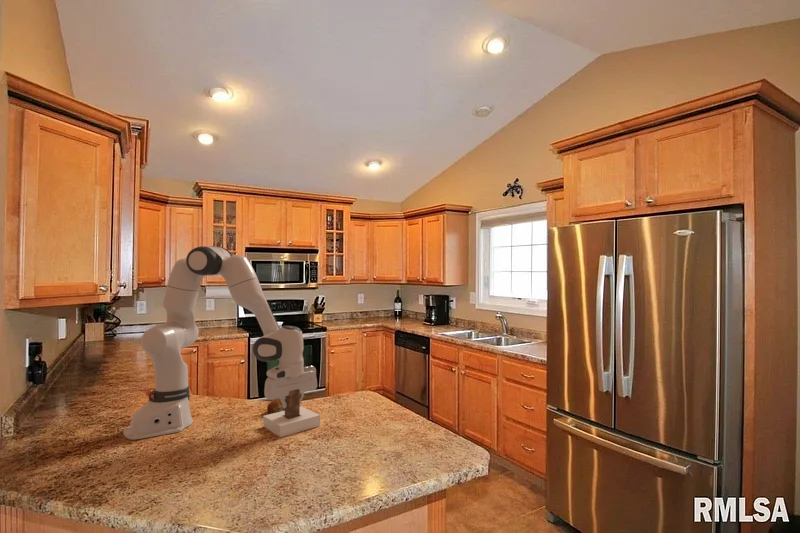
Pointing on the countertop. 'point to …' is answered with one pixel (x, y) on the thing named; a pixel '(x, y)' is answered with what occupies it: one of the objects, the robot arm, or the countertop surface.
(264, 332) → the robot arm
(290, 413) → the walnut peg
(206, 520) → the countertop surface
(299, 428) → the socket block
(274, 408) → the bread roll
